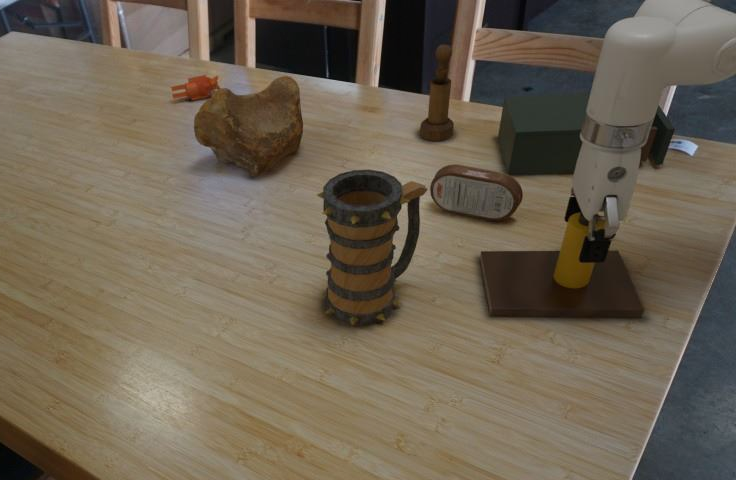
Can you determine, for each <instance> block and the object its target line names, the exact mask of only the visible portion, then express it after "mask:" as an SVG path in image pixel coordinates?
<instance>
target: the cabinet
mask: <svg viewBox="0 0 736 480" xmlns="http://www.w3.org/2000/svg"><path fill="white" fill-rule="evenodd" d="M503 97H504V98H503V103H502V110H501V116H500V122H499V127H498V133H497V140H498V144H499V147H500V150H501V151H500V152H501V154H502V159H503V162H504V165H505V170H506V174H508V175H510V176H524V175H525V176H527V175H556V174H557V175H562V174H574V171H575V167H576V163H577V159H578V156H579V153H580V149H581V146H582V143H583V142H582V141H581V138H580V133H581V129H582V125H583V121H584V117H585V113H586V110H587V105H588V101H589V97H590V95H589V94H588V92H572V93H550V94H533V95H532V94H530V95H529V94H528V95H512V96H509V95H508V96H503Z"/></svg>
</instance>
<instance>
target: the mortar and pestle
mask: <svg viewBox="0 0 736 480" xmlns="http://www.w3.org/2000/svg"><path fill="white" fill-rule="evenodd" d="M435 50H436V51H435V58H436V60H437V62H438V67H436V69H435V73H436V77H434V78H432V79H431V80H430V87H429V98H428V99H429V100H428V110H427V111H428V112H427V117H426V118H425V119H424V120H422V121H421V122H420V127H419V136H420V138H421V139H423V140H426V141H431V142H442V141H445V140H448V139H449V138H451V137H452V136H453V134H454V125H455V124H454V121H453V120H452V119H451V118H450V117H449V109H450V98H451V90H452V79H450V78H449V77H447V76H448V74H449V67H448V62H449V60H450V59H451V57H452V55H453V48H452V46H451V45H449V44H446V43H443V44H439V46H438V47H437V48H436V49H435Z"/></svg>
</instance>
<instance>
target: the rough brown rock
mask: <svg viewBox="0 0 736 480" xmlns="http://www.w3.org/2000/svg"><path fill="white" fill-rule="evenodd" d="M300 92H301V91H300V87H299V84H298V82H297V81H296V80H295V79H294V78H293V77H291V76H288V75H284V76H279V77H277V78H275V79H274V80H272V81H271V82H270V84H269V85H268V86H266V87H265V88H264V89H263V90H261V91H260V92H257V93H255V92H254V93H247V94H236V93H234V92H233V91H232V90H230V89H229V88H227V87H220V89H215V91H213V92H212V93H211V97H210V98H208V99H206V101H204V102H203V103H202V104H201V106H200V107H199V110H198V112H197V113H196V114H195V115H194V119H193V132H194V137H195V139H196V141H197V143H199V145H200V146H203V147H206V148H210V149H211V151H212V152H213V154H214V156H215V158H216V159H217V161H218V162H221V163H224V164H230V163H234V164H235V166H236V167H239V168H241V169H242V170H243V171H244V172H246V173H247V174H249V176H252V177H258V176H260V175H262V174H264V173H266V172H267V171H268V170H270V169H271V168H272V167H273V166H274V165H276V163H277V162H279V161H280V160H281V159H282V158H284V157H286V156H287V155H291V154H292V153H294V152H296V151H297V150H298V149H299V148H300V145H301V142H302V136H303V134H304V121H303V120H304V119H303V114H302V107H301V95H300V94H301V93H300Z"/></svg>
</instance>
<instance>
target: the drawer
mask: <svg viewBox="0 0 736 480" xmlns="http://www.w3.org/2000/svg"><path fill="white" fill-rule="evenodd" d="M675 131H676V128H675V126H674V125H673V124H672V122H671V121H670V119H669V118H668V117H667V115H666V113H665V112H664V111H663V109H662V108H661V106H660V104H659V105H658V108H657V111H656V114H655V118H654V121H653V124H652V127H651V130H650V133H649V136H648V139H647V142H646V144H645V145H644V146H643V147H641V157H640V163H644V162H645V163H646V162H647V161H648V157H650V159H651V160H652V162H653V163H654V165H655V166H658V165H659V166H660V165H661V166H662V165H664V162H665V159H666V156H667V154H668V151H669V147H670V144H671V143H672V139H673V136H674V133H675Z"/></svg>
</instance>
